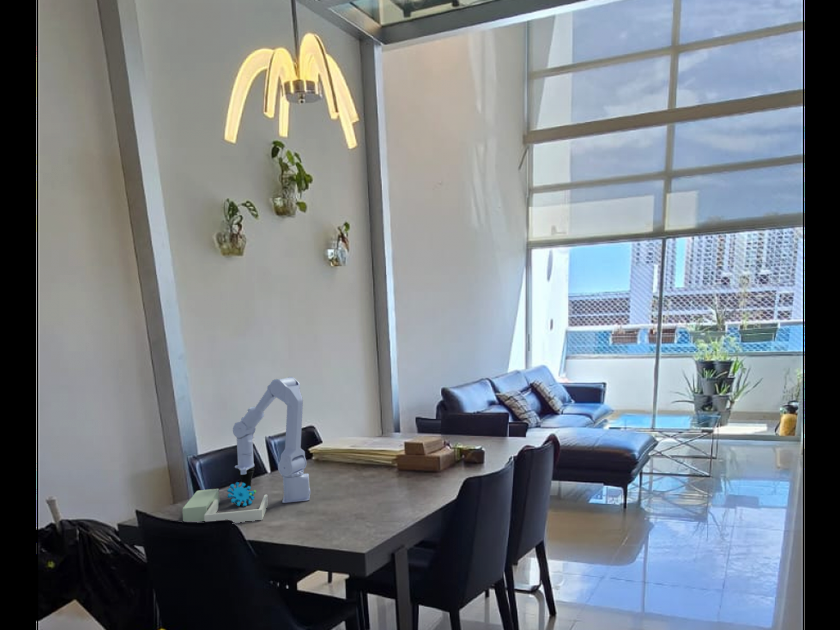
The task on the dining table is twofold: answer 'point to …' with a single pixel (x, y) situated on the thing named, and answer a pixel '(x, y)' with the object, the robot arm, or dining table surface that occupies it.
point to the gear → (241, 494)
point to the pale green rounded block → (199, 504)
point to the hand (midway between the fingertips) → (247, 489)
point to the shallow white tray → (236, 513)
